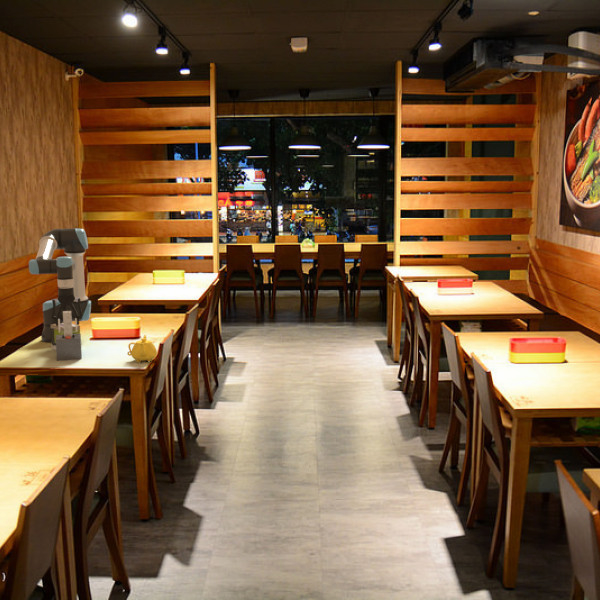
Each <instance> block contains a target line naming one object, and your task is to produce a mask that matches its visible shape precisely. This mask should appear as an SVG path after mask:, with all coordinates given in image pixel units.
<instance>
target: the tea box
mask: <svg viewBox="0 0 600 600" xmlns="http://www.w3.org/2000/svg"><path fill="white" fill-rule="evenodd" d="M72 334H81V326H80V324H79V325H77V332H76V326H75V324H74V323H72ZM56 335H64V325H63V323H60V333H59V328H58V326H56V324H51V342H50V343H51V350H52V351H56Z"/></svg>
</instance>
